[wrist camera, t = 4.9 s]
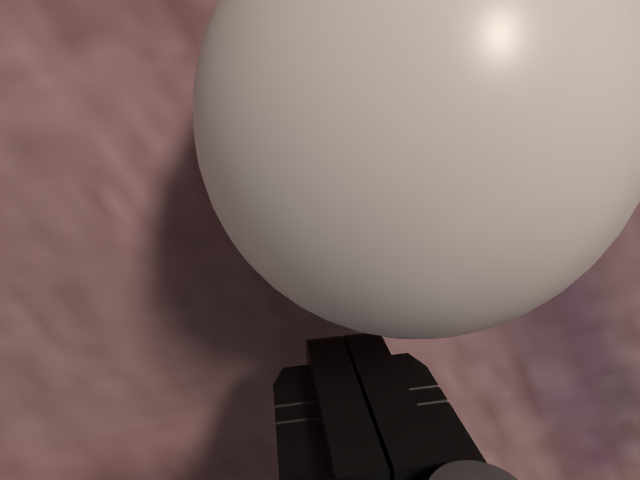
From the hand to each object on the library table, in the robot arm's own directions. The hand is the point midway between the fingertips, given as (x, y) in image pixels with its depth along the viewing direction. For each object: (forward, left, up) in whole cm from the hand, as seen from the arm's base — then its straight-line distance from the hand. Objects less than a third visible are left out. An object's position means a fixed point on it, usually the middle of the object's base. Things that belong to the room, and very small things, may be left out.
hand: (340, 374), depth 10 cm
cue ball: (+4, -3, +2) cm, 5 cm away
